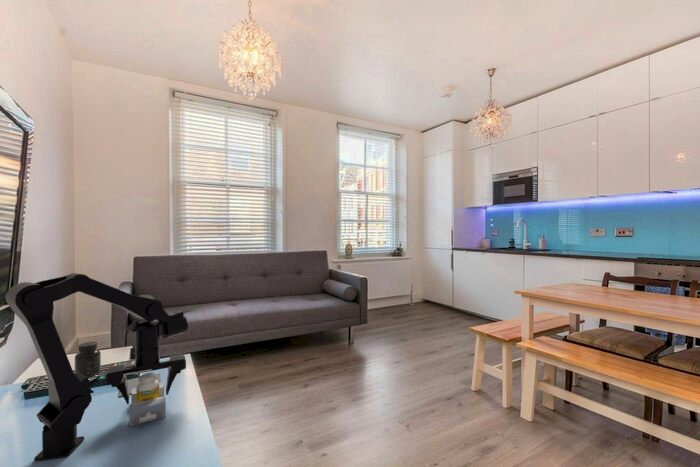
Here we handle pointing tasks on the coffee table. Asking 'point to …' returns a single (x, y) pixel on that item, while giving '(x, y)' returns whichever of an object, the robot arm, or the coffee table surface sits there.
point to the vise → (147, 407)
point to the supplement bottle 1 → (88, 359)
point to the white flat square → (136, 384)
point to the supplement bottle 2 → (147, 387)
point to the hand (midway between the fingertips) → (148, 398)
